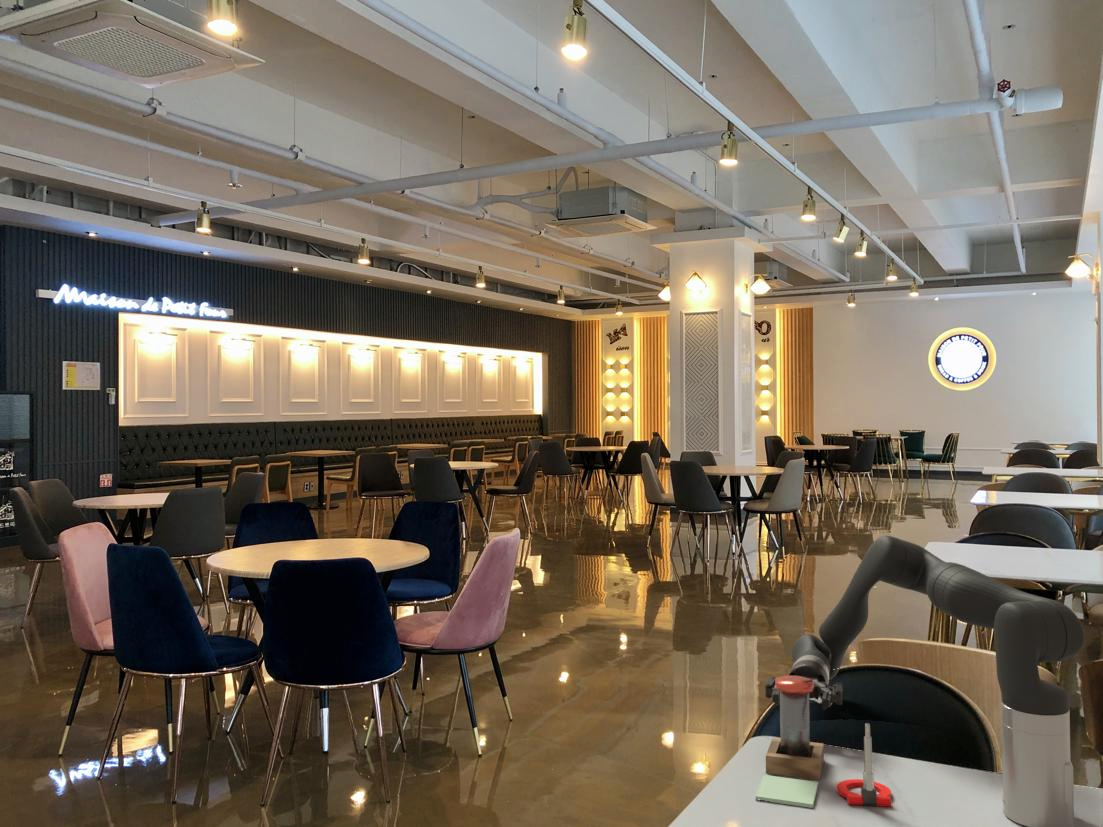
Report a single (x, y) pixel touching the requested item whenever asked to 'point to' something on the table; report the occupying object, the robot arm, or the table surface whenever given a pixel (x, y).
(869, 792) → the tow hook
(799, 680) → the steel peg
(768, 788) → the sage mat
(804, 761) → the brown square frame
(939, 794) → the table surface
